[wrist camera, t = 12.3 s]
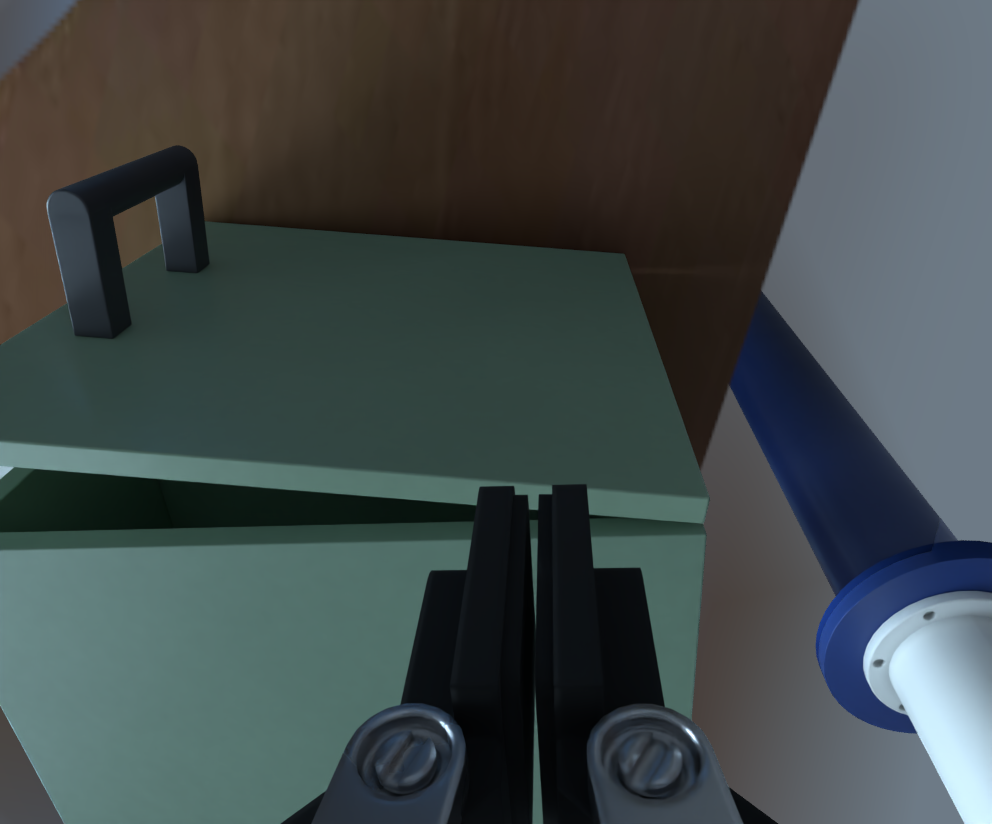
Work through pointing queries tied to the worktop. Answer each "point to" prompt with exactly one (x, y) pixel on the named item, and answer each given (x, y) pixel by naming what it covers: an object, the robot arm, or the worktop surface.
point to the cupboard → (245, 633)
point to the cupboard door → (340, 361)
